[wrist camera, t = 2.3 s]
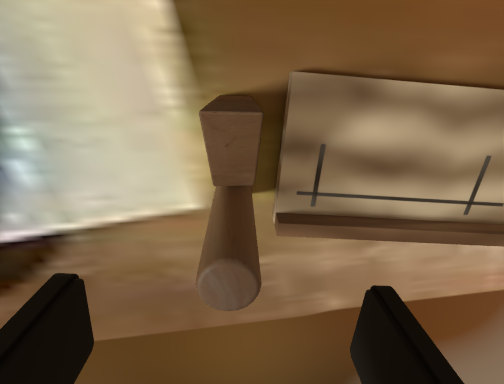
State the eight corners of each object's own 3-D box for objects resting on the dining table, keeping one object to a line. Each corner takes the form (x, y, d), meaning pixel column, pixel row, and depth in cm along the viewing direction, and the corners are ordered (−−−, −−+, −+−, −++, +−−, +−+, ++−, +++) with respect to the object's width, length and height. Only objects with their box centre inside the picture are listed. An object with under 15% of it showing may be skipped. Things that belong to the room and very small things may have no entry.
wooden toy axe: (252, 95, 28) (271, 120, 12) (250, 193, 32) (262, 316, 16) (216, 95, 28) (183, 118, 12) (218, 193, 32) (196, 317, 16)
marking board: (289, 71, 28) (298, 70, 23) (550, 94, 30) (602, 97, 25) (272, 216, 34) (277, 235, 29) (490, 227, 35) (524, 247, 31)
